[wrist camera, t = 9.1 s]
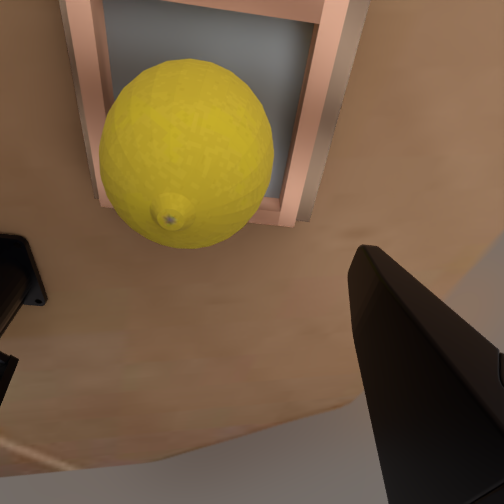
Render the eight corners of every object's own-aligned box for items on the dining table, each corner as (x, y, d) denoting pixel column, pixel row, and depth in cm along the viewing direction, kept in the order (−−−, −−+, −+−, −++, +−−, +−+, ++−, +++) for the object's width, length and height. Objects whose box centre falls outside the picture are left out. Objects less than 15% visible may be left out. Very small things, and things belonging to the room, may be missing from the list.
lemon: (290, 69, 14) (318, 160, 8) (244, 186, 17) (238, 314, 11) (150, 12, 13) (55, 66, 7) (129, 150, 16) (53, 269, 10)
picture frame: (305, 203, 22) (315, 252, 18) (106, 180, 21) (75, 227, 18) (370, -50, 14) (408, -51, 11) (64, -101, 14) (-6, -120, 10)
